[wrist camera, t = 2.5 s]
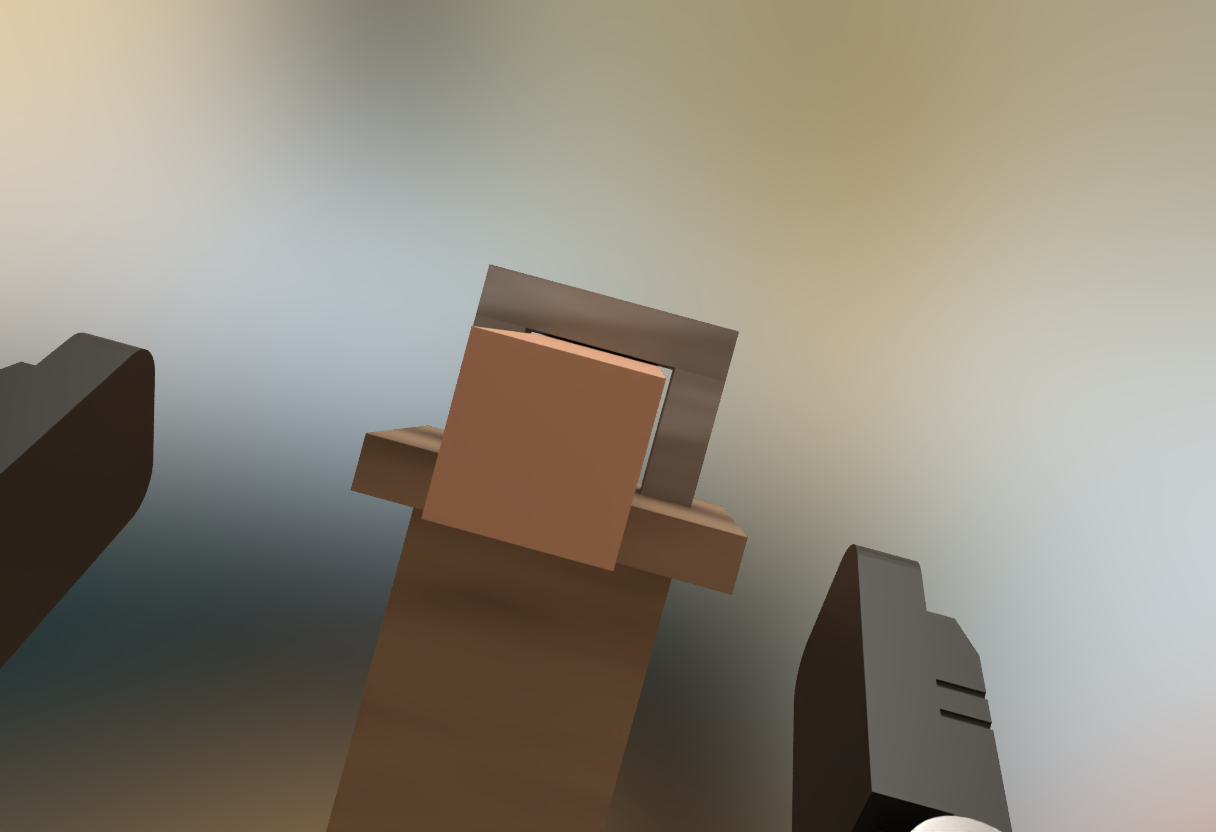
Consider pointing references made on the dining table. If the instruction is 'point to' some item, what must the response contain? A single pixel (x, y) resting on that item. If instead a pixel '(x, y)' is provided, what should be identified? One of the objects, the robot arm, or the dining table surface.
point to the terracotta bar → (544, 444)
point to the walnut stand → (532, 606)
